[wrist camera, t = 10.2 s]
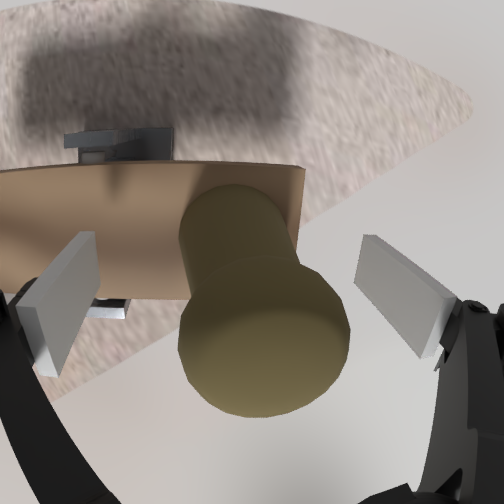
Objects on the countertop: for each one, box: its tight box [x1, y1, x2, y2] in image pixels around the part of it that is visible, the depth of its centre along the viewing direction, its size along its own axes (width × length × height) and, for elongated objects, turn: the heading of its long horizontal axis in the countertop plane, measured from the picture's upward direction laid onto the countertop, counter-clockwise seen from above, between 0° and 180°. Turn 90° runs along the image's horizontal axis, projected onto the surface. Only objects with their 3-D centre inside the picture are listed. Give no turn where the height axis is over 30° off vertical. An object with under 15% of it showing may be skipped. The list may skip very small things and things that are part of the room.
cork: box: [178, 184, 350, 418], centre depth 13 cm, size 6×6×11 cm
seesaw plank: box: [0, 151, 306, 300], centre depth 18 cm, size 9×24×2 cm, turn 86°
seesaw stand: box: [64, 128, 173, 319], centre depth 22 cm, size 12×8×10 cm
